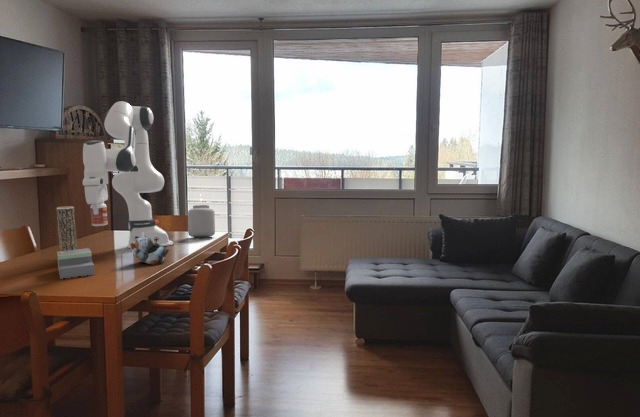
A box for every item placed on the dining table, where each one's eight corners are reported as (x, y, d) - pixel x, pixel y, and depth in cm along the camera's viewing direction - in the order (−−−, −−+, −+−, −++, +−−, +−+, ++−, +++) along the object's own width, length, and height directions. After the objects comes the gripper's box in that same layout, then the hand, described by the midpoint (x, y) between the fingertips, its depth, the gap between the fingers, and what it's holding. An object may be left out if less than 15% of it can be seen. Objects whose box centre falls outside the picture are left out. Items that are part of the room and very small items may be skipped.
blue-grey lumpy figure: (161, 265, 203) (142, 239, 198) (138, 275, 205) (119, 249, 201) (173, 248, 216) (156, 223, 212) (152, 258, 219) (134, 233, 215)
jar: (191, 235, 280) (189, 193, 277) (217, 234, 282) (215, 192, 279) (186, 240, 262) (184, 195, 259) (214, 239, 263) (211, 194, 261)
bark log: (81, 261, 214) (77, 206, 211) (69, 264, 208) (64, 208, 205) (70, 260, 216) (65, 206, 214) (57, 263, 210) (52, 207, 207)
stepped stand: (90, 266, 204) (88, 247, 203) (94, 274, 189) (93, 254, 188) (58, 270, 198) (56, 250, 197) (60, 279, 183) (58, 258, 182)
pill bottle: (106, 225, 196) (104, 199, 194) (90, 226, 194) (88, 199, 193) (109, 223, 202) (107, 197, 200) (93, 224, 200) (91, 198, 199)
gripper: (95, 179, 205) (97, 210, 207) (81, 181, 185) (83, 216, 187) (110, 178, 207) (112, 210, 208) (98, 180, 187) (100, 215, 188)
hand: (98, 213), depth 197 cm, fingers closed on pill bottle, 6 cm apart
